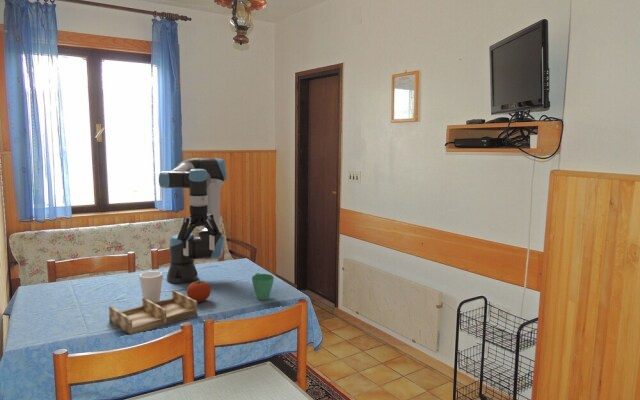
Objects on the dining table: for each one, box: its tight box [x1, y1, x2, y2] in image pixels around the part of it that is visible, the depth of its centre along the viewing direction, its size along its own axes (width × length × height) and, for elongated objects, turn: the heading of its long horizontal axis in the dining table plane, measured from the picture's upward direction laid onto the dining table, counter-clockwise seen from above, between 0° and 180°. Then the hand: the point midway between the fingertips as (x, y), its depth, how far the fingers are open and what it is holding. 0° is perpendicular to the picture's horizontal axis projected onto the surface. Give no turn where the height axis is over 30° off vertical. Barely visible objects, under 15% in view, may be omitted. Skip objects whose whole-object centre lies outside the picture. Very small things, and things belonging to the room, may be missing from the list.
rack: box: [108, 289, 198, 336], centre depth 183 cm, size 18×28×6 cm, turn 137°
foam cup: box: [138, 270, 164, 303], centre depth 198 cm, size 10×9×13 cm
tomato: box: [186, 279, 212, 303], centre depth 202 cm, size 10×10×10 cm
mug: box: [251, 272, 275, 301], centre depth 210 cm, size 15×10×10 cm
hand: (199, 252), depth 200 cm, fingers open, 13 cm apart
